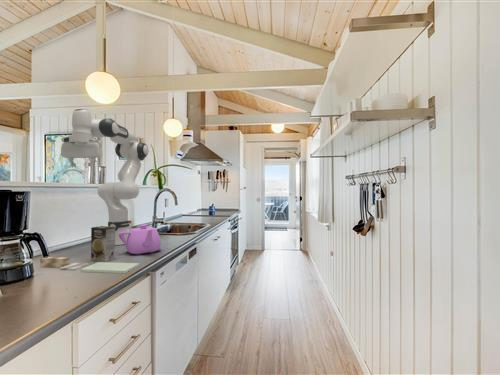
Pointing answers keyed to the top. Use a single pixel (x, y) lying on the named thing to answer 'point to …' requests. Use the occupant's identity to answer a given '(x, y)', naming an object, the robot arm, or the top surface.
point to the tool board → (110, 267)
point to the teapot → (141, 240)
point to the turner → (60, 263)
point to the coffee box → (102, 243)
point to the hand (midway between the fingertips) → (81, 166)
